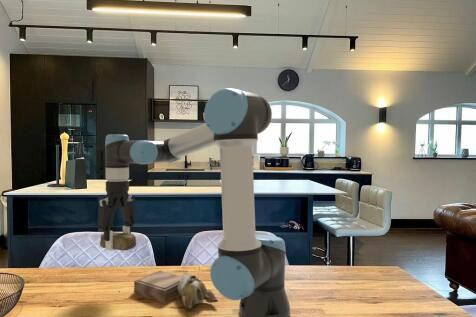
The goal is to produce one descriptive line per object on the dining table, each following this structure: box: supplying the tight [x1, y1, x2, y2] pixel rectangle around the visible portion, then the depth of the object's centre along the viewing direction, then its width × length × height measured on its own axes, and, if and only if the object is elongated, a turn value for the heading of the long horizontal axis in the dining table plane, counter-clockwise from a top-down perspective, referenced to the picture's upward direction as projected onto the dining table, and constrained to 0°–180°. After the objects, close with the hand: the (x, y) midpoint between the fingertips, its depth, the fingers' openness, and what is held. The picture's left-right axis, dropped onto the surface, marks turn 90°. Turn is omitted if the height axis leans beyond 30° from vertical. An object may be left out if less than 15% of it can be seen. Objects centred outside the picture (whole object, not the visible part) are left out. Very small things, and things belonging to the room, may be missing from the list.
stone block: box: [99, 231, 137, 252], centre depth 122 cm, size 6×12×5 cm, turn 70°
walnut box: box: [133, 270, 183, 304], centre depth 121 cm, size 14×12×4 cm
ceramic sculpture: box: [178, 272, 219, 310], centre depth 113 cm, size 11×9×15 cm
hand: (117, 247), depth 122 cm, fingers closed on stone block, 6 cm apart
